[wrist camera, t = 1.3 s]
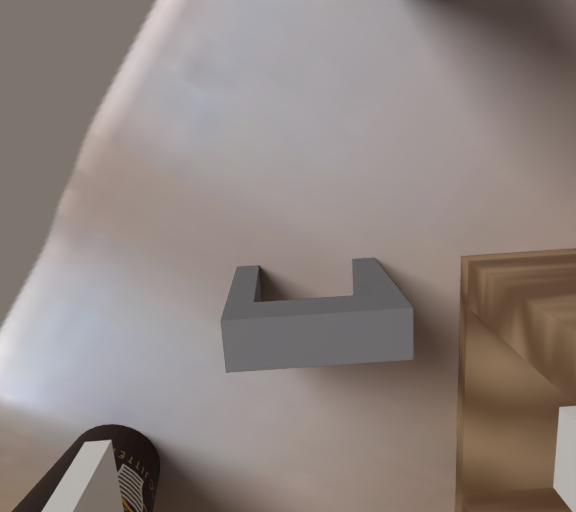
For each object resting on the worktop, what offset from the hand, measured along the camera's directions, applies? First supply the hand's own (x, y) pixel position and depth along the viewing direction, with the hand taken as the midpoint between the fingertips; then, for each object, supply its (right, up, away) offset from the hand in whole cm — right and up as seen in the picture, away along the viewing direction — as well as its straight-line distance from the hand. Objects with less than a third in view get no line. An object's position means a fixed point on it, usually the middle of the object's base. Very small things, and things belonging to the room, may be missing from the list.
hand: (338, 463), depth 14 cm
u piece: (0, +4, +17) cm, 18 cm away
